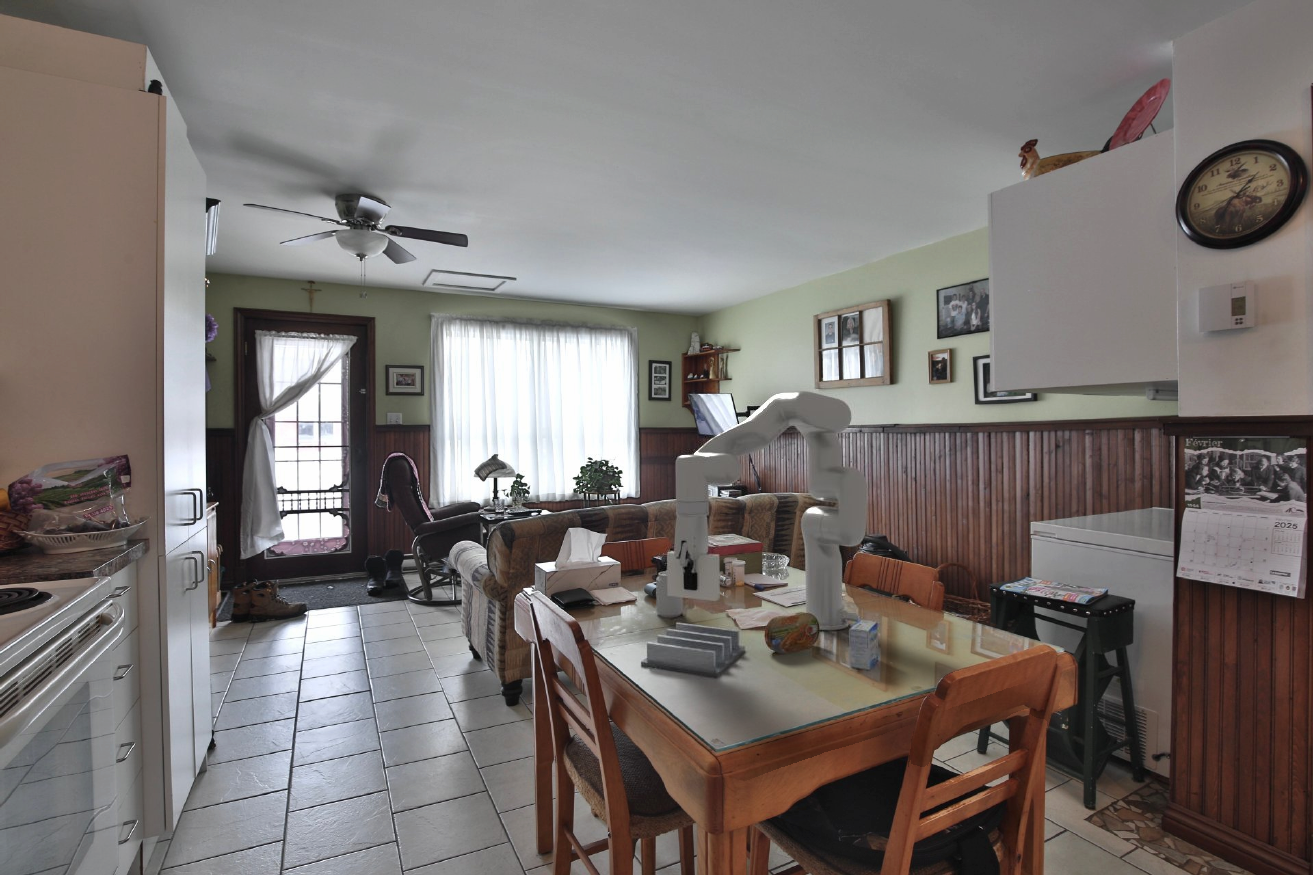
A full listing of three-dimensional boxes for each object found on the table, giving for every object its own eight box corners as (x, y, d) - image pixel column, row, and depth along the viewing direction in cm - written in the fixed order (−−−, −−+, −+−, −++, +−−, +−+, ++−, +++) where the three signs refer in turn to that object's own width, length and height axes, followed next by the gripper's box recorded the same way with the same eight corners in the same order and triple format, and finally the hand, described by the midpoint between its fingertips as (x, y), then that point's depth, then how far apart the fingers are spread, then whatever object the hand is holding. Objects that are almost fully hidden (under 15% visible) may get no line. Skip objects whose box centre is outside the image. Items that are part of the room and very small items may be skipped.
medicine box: (869, 671, 141) (869, 631, 140) (849, 667, 143) (848, 628, 143) (878, 659, 147) (878, 621, 147) (858, 656, 150) (858, 618, 150)
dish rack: (744, 650, 155) (744, 629, 155) (716, 678, 137) (716, 654, 137) (675, 640, 162) (675, 620, 162) (641, 666, 145) (640, 643, 145)
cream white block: (671, 593, 153) (671, 551, 153) (719, 598, 148) (719, 554, 148) (667, 595, 151) (666, 552, 151) (715, 600, 146) (715, 556, 146)
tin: (770, 656, 150) (770, 620, 150) (762, 652, 153) (762, 617, 153) (820, 645, 157) (820, 611, 157) (812, 642, 160) (811, 608, 160)
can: (680, 618, 181) (680, 576, 181) (654, 617, 183) (653, 575, 183) (684, 611, 189) (684, 570, 188) (659, 610, 190) (658, 569, 190)
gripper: (690, 504, 158) (691, 579, 159) (662, 511, 144) (663, 594, 144) (719, 505, 155) (720, 582, 155) (694, 513, 141) (695, 598, 141)
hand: (693, 587), depth 150 cm, fingers closed on cream white block, 2 cm apart
